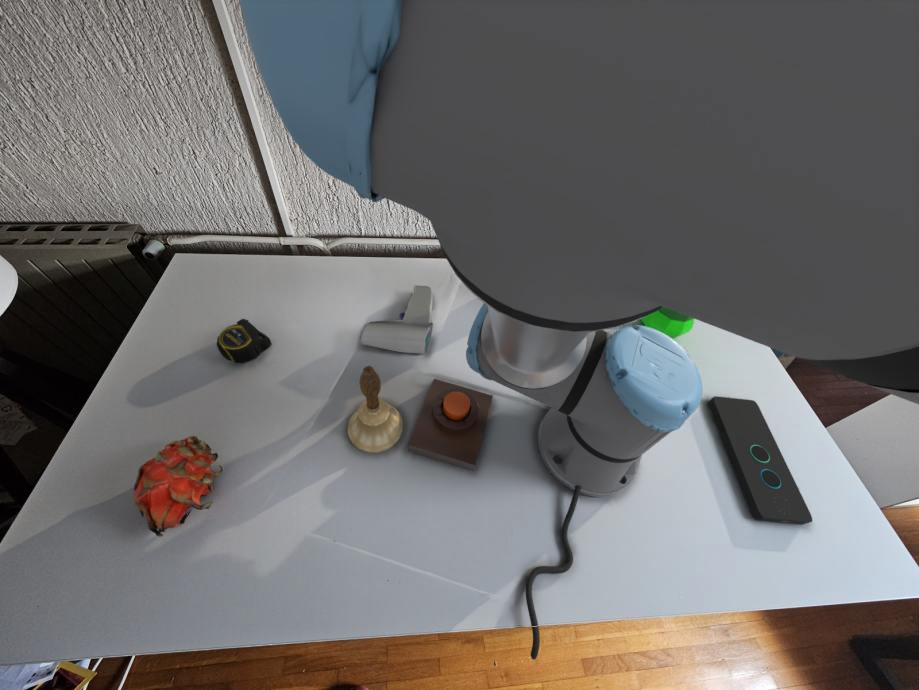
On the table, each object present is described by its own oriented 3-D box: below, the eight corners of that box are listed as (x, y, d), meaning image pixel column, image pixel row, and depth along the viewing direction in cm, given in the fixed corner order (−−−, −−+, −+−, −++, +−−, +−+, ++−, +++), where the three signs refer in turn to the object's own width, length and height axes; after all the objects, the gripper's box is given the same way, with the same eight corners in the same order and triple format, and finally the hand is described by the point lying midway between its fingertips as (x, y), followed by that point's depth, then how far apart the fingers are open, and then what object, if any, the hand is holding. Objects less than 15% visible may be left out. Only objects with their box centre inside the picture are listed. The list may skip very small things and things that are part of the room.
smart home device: (761, 517, 54) (711, 395, 66) (752, 520, 55) (705, 400, 68) (816, 522, 54) (757, 400, 67) (806, 525, 56) (750, 405, 68)
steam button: (465, 424, 56) (466, 418, 55) (439, 416, 56) (439, 410, 55) (471, 401, 59) (473, 395, 57) (446, 394, 59) (447, 388, 57)
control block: (473, 470, 56) (477, 460, 52) (408, 450, 56) (408, 439, 53) (490, 402, 63) (495, 389, 60) (433, 385, 64) (434, 372, 61)
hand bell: (410, 411, 60) (411, 352, 48) (391, 460, 55) (385, 407, 43) (362, 396, 61) (349, 334, 49) (338, 443, 56) (317, 386, 43)
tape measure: (276, 349, 65) (270, 335, 62) (239, 374, 61) (230, 360, 58) (252, 328, 67) (245, 313, 64) (214, 350, 63) (205, 336, 61)
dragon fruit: (221, 446, 55) (192, 539, 50) (151, 435, 51) (108, 536, 45) (238, 435, 50) (207, 537, 44) (161, 420, 45) (114, 533, 39)
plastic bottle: (688, 351, 74) (787, 248, 55) (634, 341, 75) (715, 235, 55) (677, 314, 81) (764, 210, 61) (628, 305, 81) (699, 198, 61)
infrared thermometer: (434, 301, 77) (430, 357, 67) (374, 295, 76) (360, 352, 66) (436, 283, 74) (431, 340, 64) (372, 277, 73) (357, 334, 63)
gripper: (700, 130, 52) (625, 262, 70) (569, 101, 54) (529, 237, 72) (708, 154, 48) (625, 288, 66) (564, 122, 49) (522, 262, 67)
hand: (575, 262), depth 69 cm, fingers open, 5 cm apart
